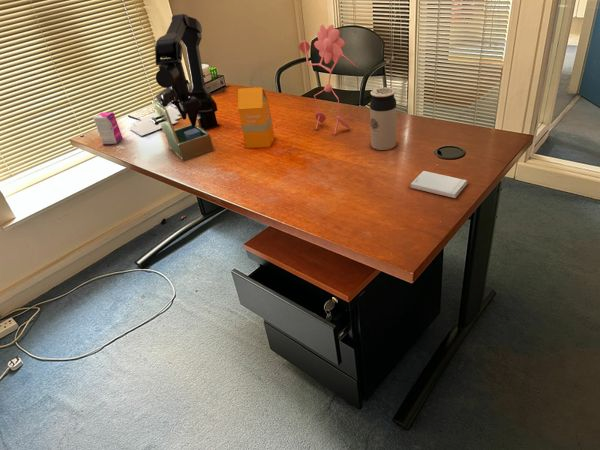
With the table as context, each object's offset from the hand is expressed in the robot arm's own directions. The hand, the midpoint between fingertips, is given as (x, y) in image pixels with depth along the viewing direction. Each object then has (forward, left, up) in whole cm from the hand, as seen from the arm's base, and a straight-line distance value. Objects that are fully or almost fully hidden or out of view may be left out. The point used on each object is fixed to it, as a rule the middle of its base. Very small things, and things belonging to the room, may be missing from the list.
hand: (189, 122), depth 156 cm
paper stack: (+2, -41, -10) cm, 42 cm away
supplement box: (+23, -33, -10) cm, 41 cm away
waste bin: (+2, 0, -10) cm, 10 cm away
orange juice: (-19, +15, -10) cm, 26 cm away
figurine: (-47, +24, -10) cm, 54 cm away
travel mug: (-47, +49, -10) cm, 69 cm away
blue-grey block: (0, 0, -9) cm, 9 cm away
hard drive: (-40, +79, -10) cm, 89 cm away
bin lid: (+8, 0, +3) cm, 8 cm away
